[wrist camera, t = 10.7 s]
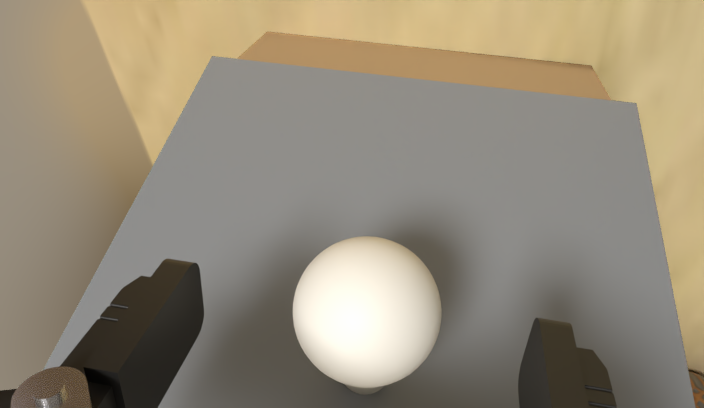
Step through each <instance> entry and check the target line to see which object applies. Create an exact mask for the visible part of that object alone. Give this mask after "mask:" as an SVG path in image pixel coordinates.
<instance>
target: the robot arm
mask: <svg viewBox="0 0 704 408" xmlns="http://www.w3.org/2000/svg"><path fill="white" fill-rule="evenodd" d="M203 319H204V304H203V295H202V286H201V276H200V268H199V265H198V264H197V263H194V262H187V261H181V260H175V259H165V260H163V261H162V263H161V264H160V265H159V267H158V268H157V269H156V271H155V272H154V273H153V275H152V276H151V277H147V276H140V277H138V278H137V279H135V280H134V281H132V282H131V283H129V284H128V285H126V286H125V287H123V288H122V289H121V290H120V292H119V293H118V294H117V295H116V297H115V298H114V299H113V300H112V302H111V303H110V306H108V307H107V308H106V309H105V310H104V312H103V313H102V314H101V315H100V319H97V320H96V322H95V323H94V324H93V325H92V327H91V328H90V329H89V330H88V332H87V333H86V334H85V335H84V337H83V338H82V339H81V340H80V342H79V343H78V344H77V345H76V347H75V348H74V349H73V350H72V352H71V353H70V354H69V355H68V357H67V358H66V359H65V360H64V362H63V363H62V364H61V365H60V366H59V367H53V368H48V369H45V370H42V371H40V372H38V373H36V374H34V375H32V376H30V377H29V378H27V379H26V380H25V381H24V382H23V383H22V384H21V385H19V387H18V388H17V389H12V390H3V391H0V408H158V406H159V405H160V403H161V401H162V399H163V398H164V396H165V394H166V392H167V390H168V389H169V387H170V385H171V383H172V382H173V380H174V378H175V376H176V375H177V373H178V371H179V369H180V367H181V366H182V364H183V362H184V360H185V359H186V357H187V355H188V353H189V352H190V350H191V348H192V346H193V344H194V343H195V341H196V339H197V337H198V335H199V333H200V331H201V328H202V324H203ZM612 390H613V389H612V386H611V382H610V378H609V374H608V370H607V368H606V367H605V366H604V364H603V363H602V362H601V360H600V359H599V358H598V356H597V355H596V354H595V352H594V351H593V350H590V349H584V348H578V347H576V342H575V338H574V333H573V328H572V325H571V324H570V323H568V322H562V321H556V320H549V319H543V318H535V320H534V322H533V325H532V328H531V332H530V335H529V338H528V342H527V345H526V348H525V352H524V355H523V358H522V362H521V366H520V371H519V379H518V395H519V407H520V408H617V405H616V401H615V397H614V394H613V393H612Z"/></svg>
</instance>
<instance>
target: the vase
mask: <svg viewBox="0 0 704 408" xmlns="http://www.w3.org/2000/svg"><path fill="white" fill-rule="evenodd" d="M688 372H689V371H688ZM689 377H690V382H691V387H692V392H693V398H694V403H695V408H704V377H703V376H701V375H699V374H696V373H693V372H689Z"/></svg>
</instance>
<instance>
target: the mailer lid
mask: <svg viewBox="0 0 704 408" xmlns="http://www.w3.org/2000/svg"><path fill="white" fill-rule="evenodd" d="M165 259H175V260H181V261H187V262H194V263H197V264H198V265H199V268H200V276H201V286H202V295H203V304H204V319H203V324H202V328H201V331H200V333H199V335H198V337H197V339H196V341H195V343H194V344H193V346H192V348H191V350H190V352H189V353H188V355H187V357H186V359H185V360H184V362H183V364H182V366H181V367H180V369H179V371H178V373H177V375H176V376H175V378H174V380H173V382H172V383H171V385H170V387H169V389H168V390H167V392H166V394H165V396H164V398H163V399H162V401H161V403H160V405H159V406H158V408H520V407H519V395H518V379H519V371H520V366H521V362H522V358H523V355H524V352H525V348H526V345H527V342H528V338H529V335H530V332H531V328H532V325H533V322H534V320H535V318H543V319H549V320H556V321H562V322H568V323H570V324H571V325H572V328H573V333H574V338H575V342H576V347H578V348H584V349H590V350H593V351H594V352H595V354H596V355H597V356H598V358H599V359H600V360H601V362H602V363H603V364H604V366H605V367H606V368H607V370H608V374H609V378H610V382H611V386H612V389H613V390H612V393H613V394H614V397H615V401H616V405H617V408H695V403H694V398H693V392H692V387H691V382H690V377H689V372H688V367H687V361H686V356H685V351H684V346H683V341H682V336H681V331H680V325H679V320H678V315H677V310H676V305H675V300H674V295H673V289H672V284H671V279H670V274H669V269H668V264H667V259H666V253H665V248H664V243H663V238H662V233H661V228H660V222H659V217H658V212H657V207H656V202H655V197H654V192H653V186H652V181H651V176H650V171H649V166H648V161H647V156H646V150H645V145H644V140H643V135H642V130H641V125H640V119H639V114H638V109H637V104H636V103H630V102H621V101H612V100H603V99H594V98H585V97H576V96H567V95H558V94H549V93H540V92H531V91H522V90H513V89H504V88H495V87H486V86H477V85H468V84H459V83H450V82H441V81H432V80H423V79H413V78H404V77H395V76H386V75H377V74H368V73H359V72H350V71H341V70H332V69H323V68H314V67H305V66H296V65H287V64H278V63H269V62H260V61H251V60H242V59H233V58H224V57H215V56H212V58H211V59H210V61H209V63H208V65H207V67H206V69H205V71H204V72H203V74H202V76H201V78H200V80H199V82H198V84H197V85H196V87H195V89H194V91H193V93H192V95H191V96H190V98H189V100H188V102H187V104H186V106H185V108H184V109H183V111H182V113H181V115H180V117H179V119H178V121H177V122H176V124H175V126H174V128H173V130H172V132H171V134H170V135H169V137H168V139H167V141H166V143H165V145H164V147H163V148H162V150H161V152H160V154H159V156H158V158H157V160H156V161H155V163H154V165H153V167H152V169H151V171H150V173H149V174H148V176H147V178H146V180H145V182H144V184H143V186H142V188H141V189H140V191H139V193H138V195H137V197H136V199H135V200H134V202H133V204H132V206H131V208H130V210H129V212H128V214H127V215H126V217H125V219H124V221H123V223H122V225H121V226H120V228H119V230H118V232H117V234H116V236H115V238H114V240H113V241H112V243H111V245H110V247H109V249H108V251H107V252H106V254H105V256H104V258H103V260H102V262H101V263H100V266H99V267H98V269H97V271H96V273H95V275H94V277H93V278H92V280H91V282H90V284H89V286H88V288H87V289H86V291H85V293H84V295H83V297H82V299H81V301H80V303H79V304H78V306H77V308H76V310H75V312H74V314H73V315H72V317H71V319H70V321H69V323H68V325H67V327H66V329H65V330H64V332H63V334H62V336H61V338H60V340H59V341H58V343H57V345H56V347H55V349H54V351H53V353H52V354H51V356H50V358H49V360H48V362H47V364H46V366H45V367H44V369H43V370H45V369H48V368H53V367H59V366H60V365H61V364H62V363H63V362H64V360H65V359H66V358H67V357H68V355H69V354H70V353H71V352H72V350H73V349H74V348H75V347H76V345H77V344H78V343H79V342H80V340H81V339H82V338H83V337H84V335H85V334H86V333H87V332H88V330H89V329H90V328H91V327H92V325H93V324H94V323H95V322H96V320H97V319H100V315H101V314H102V313H103V312H104V310H105V309H106V308H107V307H108V306H110V303H111V302H112V300H113V299H114V298H115V297H116V295H117V294H118V293H119V292H120V290H121V289H122V288H123V287H125V286H126V285H128V284H129V283H131V282H132V281H134V280H135V279H137V278H138V277H140V276H147V277H151V276H152V275H153V273H154V272H155V271H156V269H157V268H158V267H159V265H160V264H161V263H162V261H163V260H165Z"/></svg>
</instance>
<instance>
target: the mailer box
mask: <svg viewBox="0 0 704 408" xmlns="http://www.w3.org/2000/svg"><path fill="white" fill-rule="evenodd" d="M237 59H242V60H251V61H260V62H269V63H278V64H287V65H296V66H305V67H314V68H323V69H332V70H341V71H350V72H359V73H368V74H377V75H386V76H395V77H404V78H413V79H423V80H432V81H441V82H450V83H459V84H468V85H477V86H486V87H495V88H504V89H513V90H522V91H531V92H540V93H549V94H558V95H567V96H576V97H585V98H594V99H603V100H611V99H610V97H609V95H608V94H607V92H606V90H605V88H604V87H603V85H602V83H601V81H600V80H599V78H598V76H597V74H596V73H595V71H594V69H593V68H592V66H590V65H580V64H571V63H561V62H552V61H542V60H532V59H523V58H513V57H504V56H494V55H485V54H475V53H466V52H456V51H446V50H437V49H427V48H418V47H408V46H399V45H389V44H379V43H370V42H360V41H351V40H341V39H332V38H322V37H313V36H303V35H293V34H284V33H274V32H266V33H265V34H264V35H263V36H262V37H261V38H260V39H258V40H257V41H256V42H255V43H254V44H253V45H252V46H251V47H250V48H248V49H247V50H246V51H245V52H244V53H243V54H242V55H241V56H240V57H238V58H237Z"/></svg>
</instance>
